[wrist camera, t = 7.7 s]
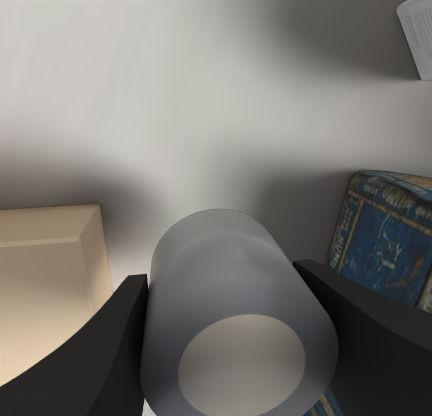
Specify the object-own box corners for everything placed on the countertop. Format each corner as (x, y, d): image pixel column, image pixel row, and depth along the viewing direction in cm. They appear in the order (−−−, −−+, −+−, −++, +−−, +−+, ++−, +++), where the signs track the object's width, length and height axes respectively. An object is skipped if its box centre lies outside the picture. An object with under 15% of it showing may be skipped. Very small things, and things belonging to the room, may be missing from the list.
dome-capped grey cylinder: (276, 317, 14) (330, 430, 9) (156, 330, 14) (149, 457, 9) (281, 204, 13) (349, 272, 8) (145, 213, 12) (129, 292, 7)
